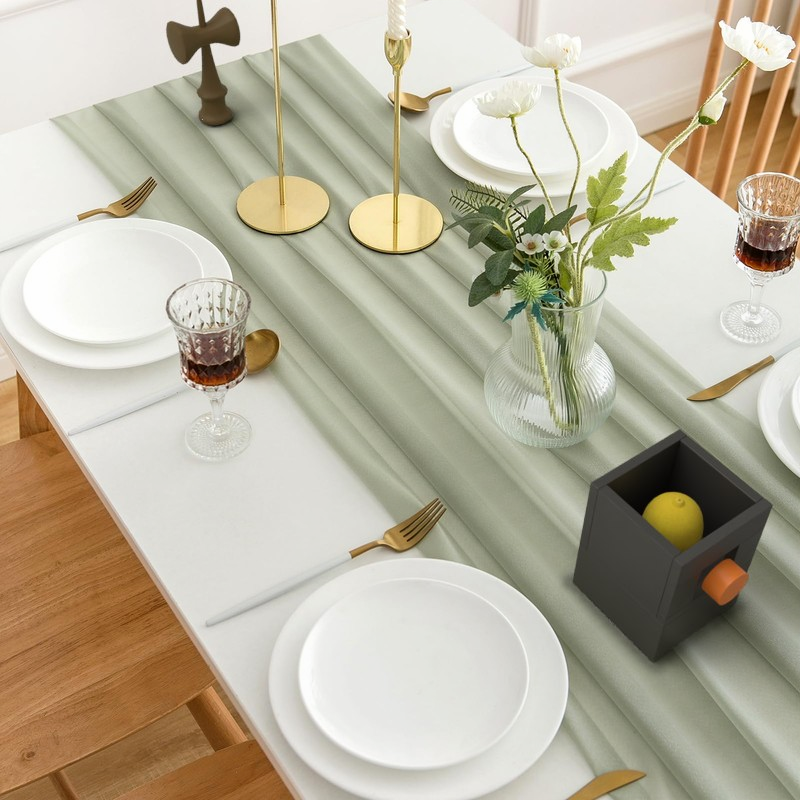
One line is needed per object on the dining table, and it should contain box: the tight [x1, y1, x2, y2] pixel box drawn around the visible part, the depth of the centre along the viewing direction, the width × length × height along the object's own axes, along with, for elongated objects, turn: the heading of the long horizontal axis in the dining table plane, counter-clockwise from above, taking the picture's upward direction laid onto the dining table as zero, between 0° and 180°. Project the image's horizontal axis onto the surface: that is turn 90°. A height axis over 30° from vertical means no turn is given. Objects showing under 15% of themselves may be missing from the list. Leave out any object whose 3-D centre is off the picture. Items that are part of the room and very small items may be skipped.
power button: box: [702, 559, 750, 605], centre depth 94 cm, size 2×4×4 cm, turn 125°
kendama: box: [165, 0, 241, 126], centre depth 158 cm, size 6×10×20 cm, turn 124°
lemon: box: [642, 492, 704, 553], centre depth 97 cm, size 6×6×8 cm
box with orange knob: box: [572, 428, 774, 663], centre depth 99 cm, size 11×11×15 cm
